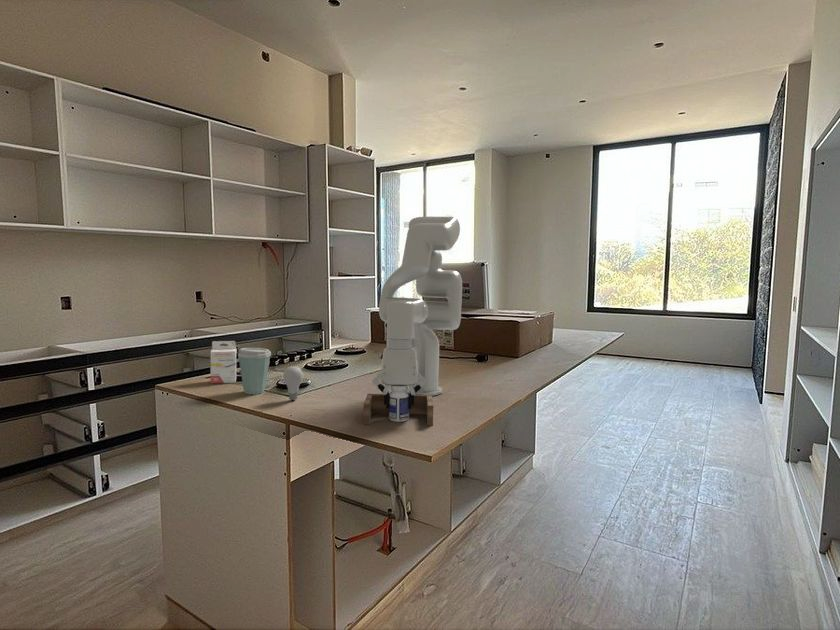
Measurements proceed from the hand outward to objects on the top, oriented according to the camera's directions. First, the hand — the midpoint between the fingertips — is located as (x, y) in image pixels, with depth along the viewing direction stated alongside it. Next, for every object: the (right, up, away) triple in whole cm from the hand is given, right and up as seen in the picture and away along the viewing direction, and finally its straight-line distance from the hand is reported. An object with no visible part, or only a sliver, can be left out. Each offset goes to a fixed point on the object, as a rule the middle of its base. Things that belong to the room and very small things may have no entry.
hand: (398, 406), depth 135 cm
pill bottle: (0, -4, 0) cm, 4 cm away
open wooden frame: (0, -4, 0) cm, 4 cm away
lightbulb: (-34, -1, +17) cm, 38 cm away
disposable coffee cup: (-49, 0, +25) cm, 56 cm away
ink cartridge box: (-66, +1, +39) cm, 76 cm away
